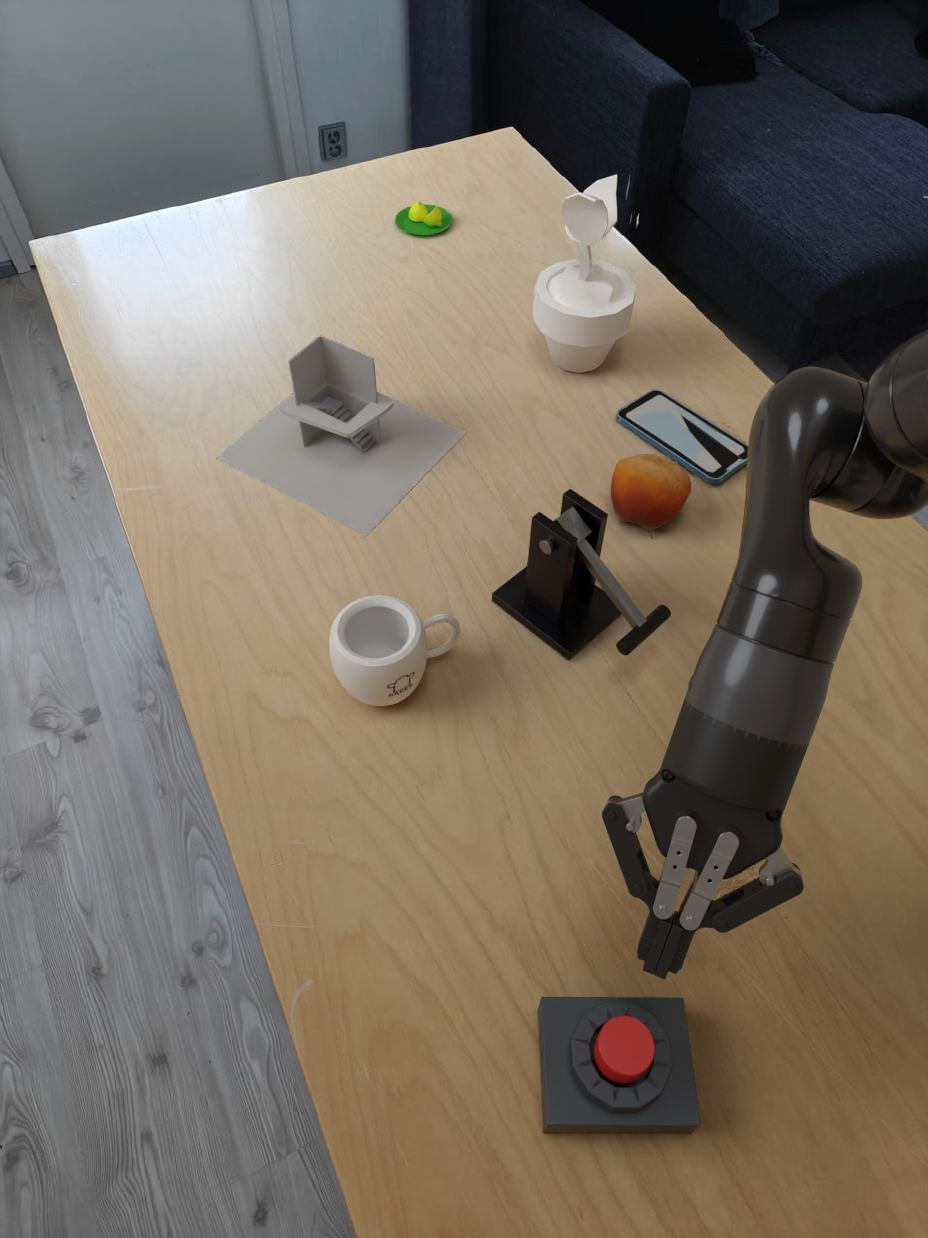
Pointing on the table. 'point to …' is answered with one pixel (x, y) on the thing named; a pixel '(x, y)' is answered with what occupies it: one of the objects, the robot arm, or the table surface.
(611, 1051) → the button
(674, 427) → the smartphone
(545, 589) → the bracket
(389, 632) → the mug
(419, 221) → the plate of lemons
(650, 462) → the fruit
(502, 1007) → the table surface
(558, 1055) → the button block
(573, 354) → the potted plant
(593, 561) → the lever
